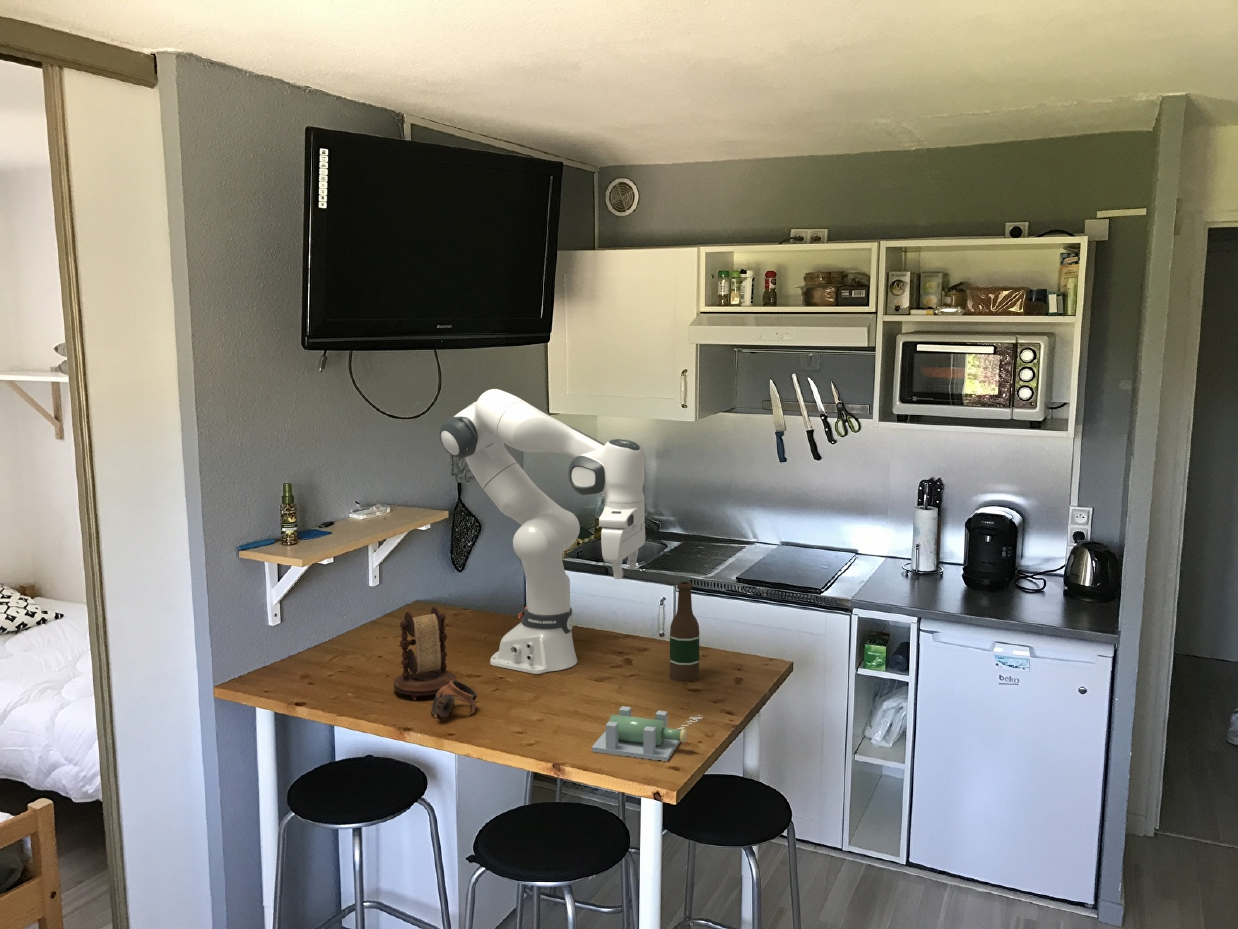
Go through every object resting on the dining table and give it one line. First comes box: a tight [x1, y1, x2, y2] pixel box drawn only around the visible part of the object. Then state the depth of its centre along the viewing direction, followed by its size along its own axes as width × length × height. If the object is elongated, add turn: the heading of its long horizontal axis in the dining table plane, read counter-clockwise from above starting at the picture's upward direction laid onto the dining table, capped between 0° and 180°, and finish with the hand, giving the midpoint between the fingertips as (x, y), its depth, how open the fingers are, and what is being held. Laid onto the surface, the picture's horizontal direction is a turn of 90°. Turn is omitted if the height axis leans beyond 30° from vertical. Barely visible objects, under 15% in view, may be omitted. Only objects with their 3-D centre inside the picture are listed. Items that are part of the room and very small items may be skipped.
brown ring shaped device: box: [430, 680, 478, 718], centre depth 222 cm, size 12×10×8 cm
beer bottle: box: [669, 581, 700, 683], centre depth 243 cm, size 8×8×24 cm
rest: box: [591, 705, 681, 762], centre depth 205 cm, size 16×11×6 cm
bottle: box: [608, 713, 688, 746], centre depth 204 cm, size 16×5×5 cm, turn 71°
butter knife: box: [677, 714, 704, 729], centre depth 211 cm, size 1×24×3 cm
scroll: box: [393, 606, 457, 700], centre depth 236 cm, size 15×15×20 cm
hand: (625, 573), depth 222 cm, fingers open, 8 cm apart
